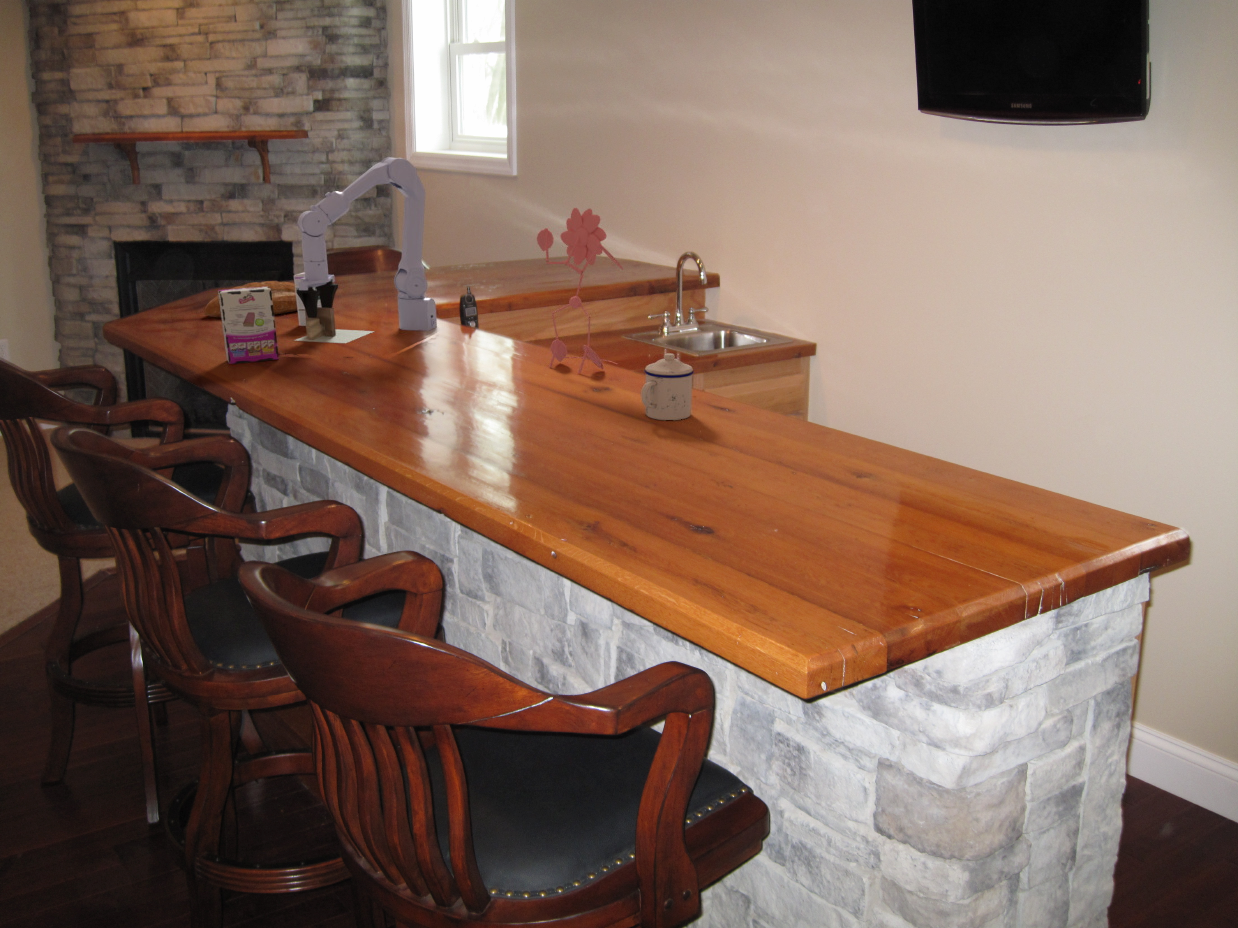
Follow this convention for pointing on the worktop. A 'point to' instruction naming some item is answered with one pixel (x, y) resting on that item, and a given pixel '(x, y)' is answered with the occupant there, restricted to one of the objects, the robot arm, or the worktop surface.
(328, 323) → the wooden c-clamp shape
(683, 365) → the teacup with lid
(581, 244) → the figurine
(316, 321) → the wooden u-shaped block
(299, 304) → the syrup box
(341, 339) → the board
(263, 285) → the bread
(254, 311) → the candy bar box
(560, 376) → the worktop surface
